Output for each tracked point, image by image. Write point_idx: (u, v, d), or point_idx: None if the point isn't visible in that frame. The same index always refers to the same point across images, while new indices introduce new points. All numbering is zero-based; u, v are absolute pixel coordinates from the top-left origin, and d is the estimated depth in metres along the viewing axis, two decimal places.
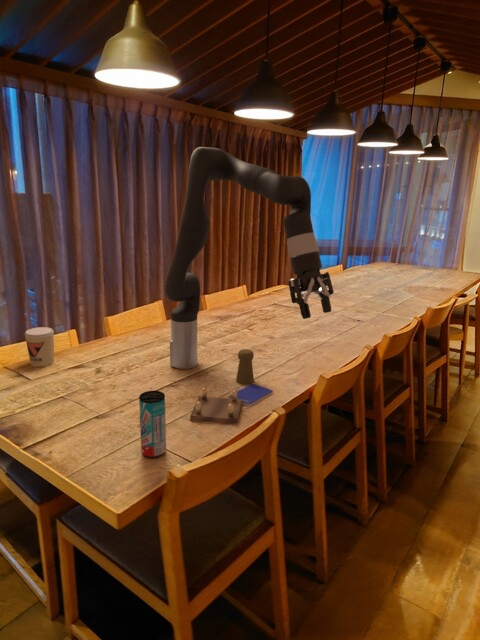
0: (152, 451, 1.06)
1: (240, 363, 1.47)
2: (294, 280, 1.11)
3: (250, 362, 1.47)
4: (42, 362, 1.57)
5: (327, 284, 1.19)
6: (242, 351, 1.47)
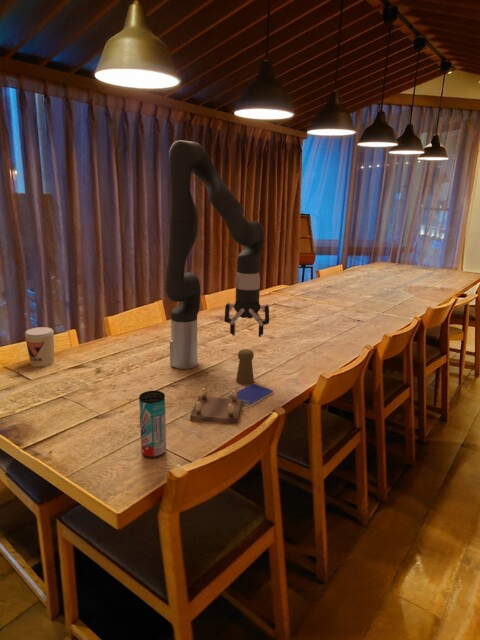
0: (152, 451, 1.06)
1: (240, 363, 1.47)
2: None
3: (250, 362, 1.47)
4: (42, 362, 1.57)
5: (265, 315, 1.43)
6: (242, 351, 1.47)
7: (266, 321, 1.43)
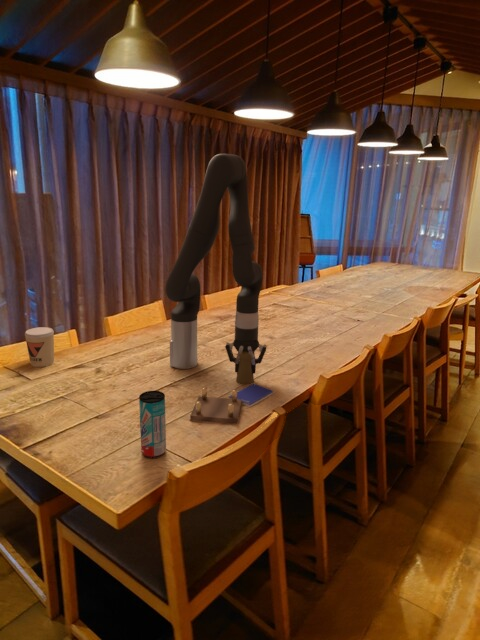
0: (152, 451, 1.06)
1: (240, 363, 1.47)
2: None
3: (250, 362, 1.47)
4: (42, 362, 1.57)
5: None
6: None
7: (259, 360, 1.47)
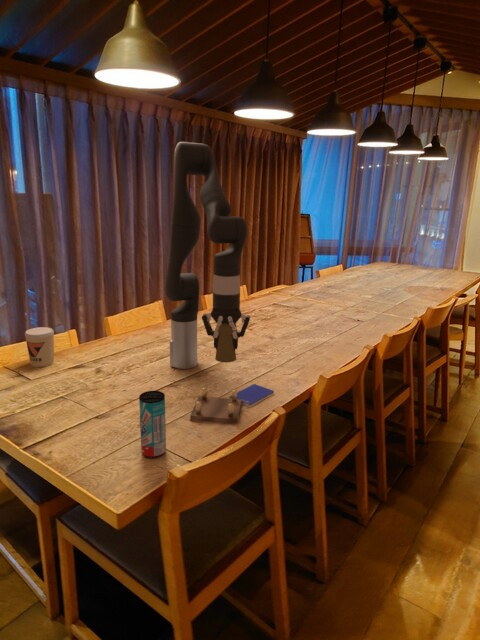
0: (152, 451, 1.06)
1: (220, 337, 1.26)
2: (202, 317, 1.25)
3: (231, 335, 1.26)
4: (42, 362, 1.57)
5: (242, 326, 1.25)
6: None
7: (241, 333, 1.25)
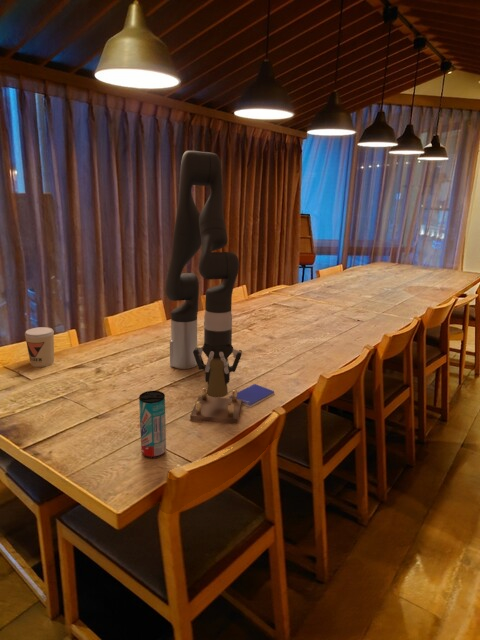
0: (152, 451, 1.06)
1: (211, 371, 1.25)
2: None
3: (223, 370, 1.25)
4: (42, 362, 1.57)
5: (234, 361, 1.24)
6: None
7: (233, 368, 1.24)
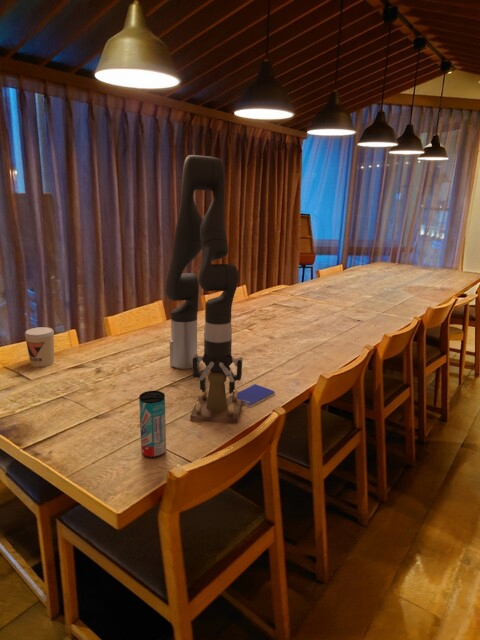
0: (152, 451, 1.06)
1: (210, 386, 1.26)
2: (192, 359, 1.25)
3: (222, 385, 1.26)
4: (42, 362, 1.57)
5: (237, 370, 1.24)
6: (213, 372, 1.25)
7: (238, 377, 1.25)
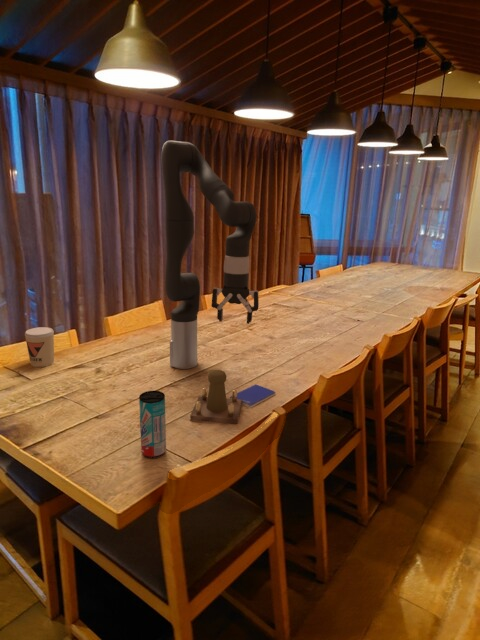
0: (152, 451, 1.06)
1: (210, 386, 1.26)
2: (213, 290, 1.36)
3: (222, 385, 1.26)
4: (42, 362, 1.57)
5: None
6: (213, 372, 1.25)
7: (255, 307, 1.36)
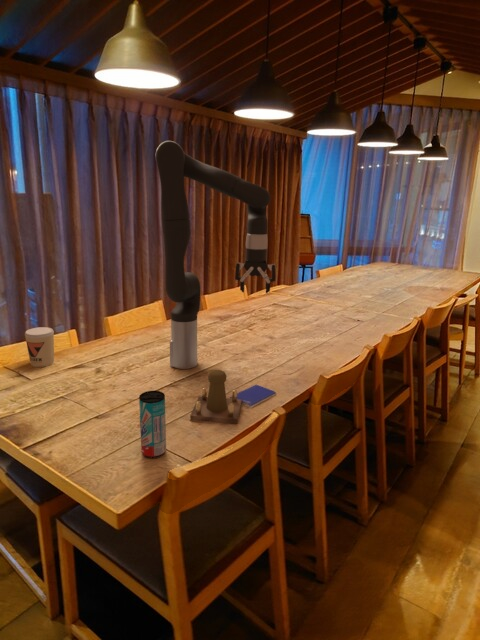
0: (152, 451, 1.06)
1: (210, 386, 1.26)
2: (236, 264, 1.58)
3: (222, 385, 1.26)
4: (42, 362, 1.57)
5: None
6: (213, 372, 1.25)
7: (273, 279, 1.58)
